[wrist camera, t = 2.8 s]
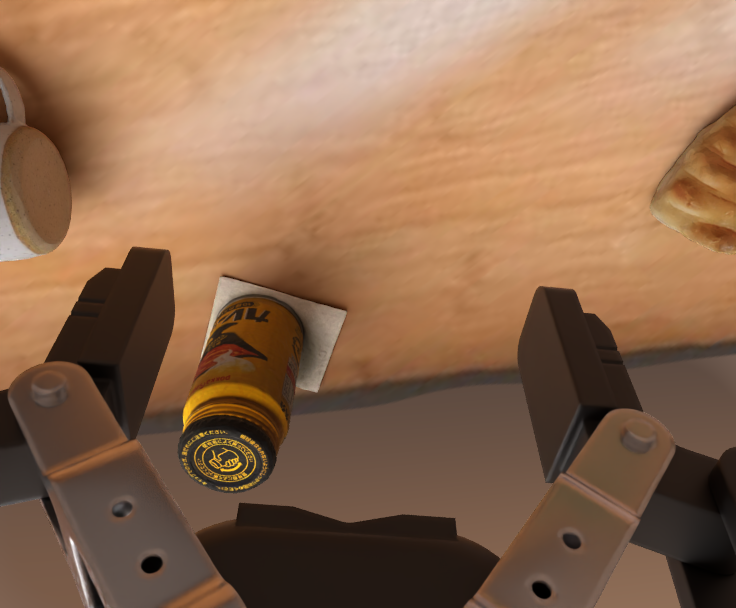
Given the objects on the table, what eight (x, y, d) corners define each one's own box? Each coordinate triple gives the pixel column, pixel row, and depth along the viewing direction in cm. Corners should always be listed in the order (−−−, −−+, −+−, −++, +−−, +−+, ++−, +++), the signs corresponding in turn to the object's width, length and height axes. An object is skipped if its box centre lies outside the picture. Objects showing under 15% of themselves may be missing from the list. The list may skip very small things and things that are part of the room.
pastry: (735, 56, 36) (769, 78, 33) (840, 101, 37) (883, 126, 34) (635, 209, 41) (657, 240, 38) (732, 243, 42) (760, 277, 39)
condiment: (220, 274, 44) (172, 401, 34) (347, 309, 46) (335, 442, 36) (200, 359, 48) (152, 495, 38) (317, 389, 50) (299, 528, 40)
